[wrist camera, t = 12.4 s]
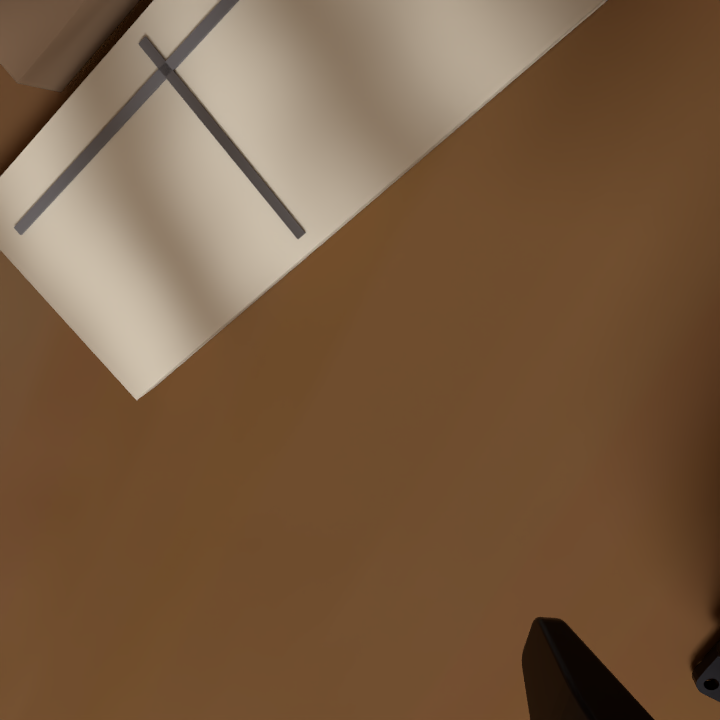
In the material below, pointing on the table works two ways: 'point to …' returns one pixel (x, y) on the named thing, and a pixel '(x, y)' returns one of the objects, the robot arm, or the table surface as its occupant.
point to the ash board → (242, 153)
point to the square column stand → (55, 37)
